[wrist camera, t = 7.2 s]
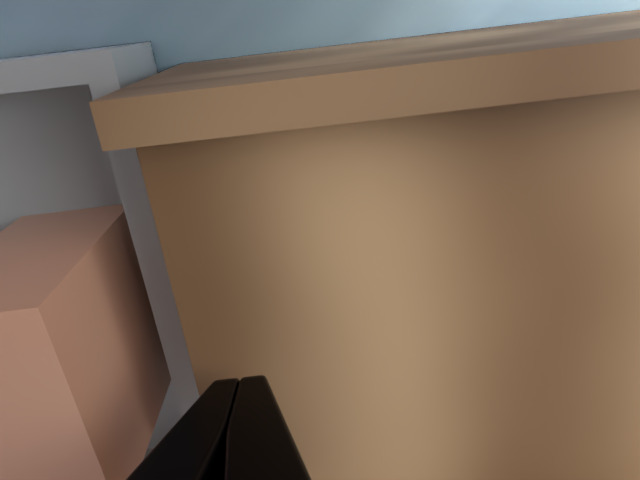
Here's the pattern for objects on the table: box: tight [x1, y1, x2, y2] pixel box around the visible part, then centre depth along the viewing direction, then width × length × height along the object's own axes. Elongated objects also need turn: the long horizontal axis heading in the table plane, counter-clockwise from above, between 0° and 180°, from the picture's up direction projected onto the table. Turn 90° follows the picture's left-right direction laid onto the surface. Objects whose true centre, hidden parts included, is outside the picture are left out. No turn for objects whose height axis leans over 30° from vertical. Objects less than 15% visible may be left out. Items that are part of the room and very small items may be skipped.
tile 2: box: [0, 204, 171, 480], centre depth 10 cm, size 4×4×2 cm
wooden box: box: [89, 10, 640, 480], centre depth 10 cm, size 13×10×5 cm
